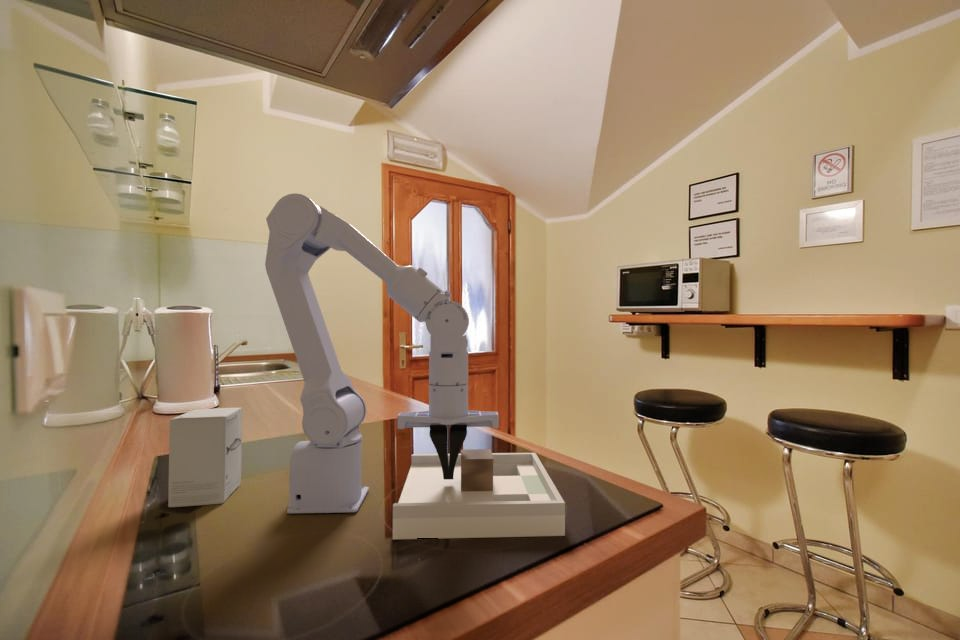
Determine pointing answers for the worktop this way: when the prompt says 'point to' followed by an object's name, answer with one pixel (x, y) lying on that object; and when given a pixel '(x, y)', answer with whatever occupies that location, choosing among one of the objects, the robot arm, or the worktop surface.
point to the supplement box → (204, 456)
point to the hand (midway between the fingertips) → (448, 476)
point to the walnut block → (476, 470)
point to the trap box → (479, 501)
